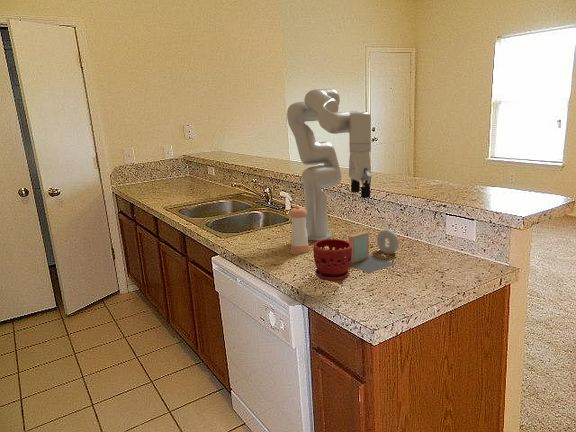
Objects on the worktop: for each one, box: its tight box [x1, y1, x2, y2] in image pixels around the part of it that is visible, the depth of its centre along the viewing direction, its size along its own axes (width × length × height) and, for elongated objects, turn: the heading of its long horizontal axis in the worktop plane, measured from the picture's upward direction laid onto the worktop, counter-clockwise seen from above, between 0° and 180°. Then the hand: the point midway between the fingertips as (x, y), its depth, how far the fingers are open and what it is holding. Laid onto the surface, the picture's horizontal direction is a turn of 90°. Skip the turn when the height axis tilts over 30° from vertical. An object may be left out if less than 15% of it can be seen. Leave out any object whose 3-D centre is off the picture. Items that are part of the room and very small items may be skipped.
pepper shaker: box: [288, 205, 310, 256], centre depth 176 cm, size 7×7×19 cm
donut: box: [376, 228, 400, 255], centre depth 170 cm, size 10×4×10 cm, turn 35°
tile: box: [348, 231, 370, 263], centre depth 163 cm, size 2×8×10 cm, turn 124°
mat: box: [349, 254, 396, 274], centre depth 161 cm, size 16×13×1 cm
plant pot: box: [312, 238, 352, 282], centre depth 150 cm, size 13×13×12 cm
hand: (360, 194), depth 161 cm, fingers open, 9 cm apart
